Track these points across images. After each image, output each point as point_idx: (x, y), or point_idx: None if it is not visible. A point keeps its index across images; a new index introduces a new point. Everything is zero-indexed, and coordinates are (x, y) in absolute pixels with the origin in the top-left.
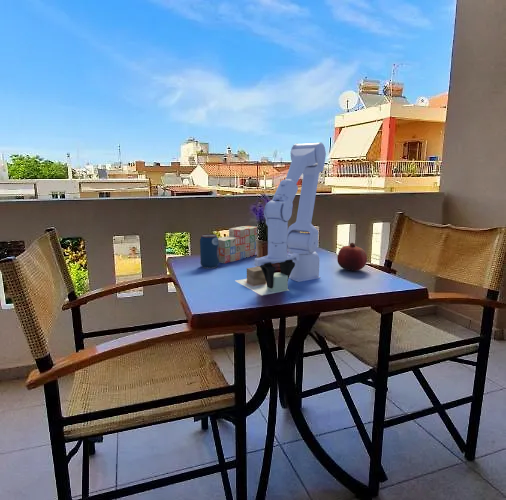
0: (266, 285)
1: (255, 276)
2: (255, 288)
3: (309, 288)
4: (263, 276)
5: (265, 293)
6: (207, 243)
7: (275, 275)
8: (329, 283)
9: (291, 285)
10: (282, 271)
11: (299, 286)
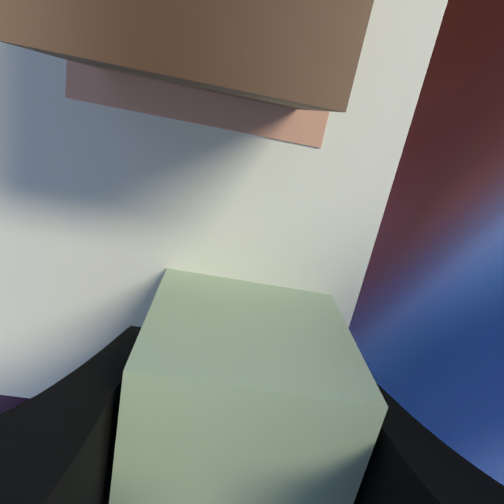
0: (241, 179)
1: (89, 62)
2: (54, 181)
3: (501, 464)
4: (264, 99)
5: (50, 374)
6: None
7: (192, 494)
8: None
9: (475, 316)
10: (383, 498)
11: (497, 382)
